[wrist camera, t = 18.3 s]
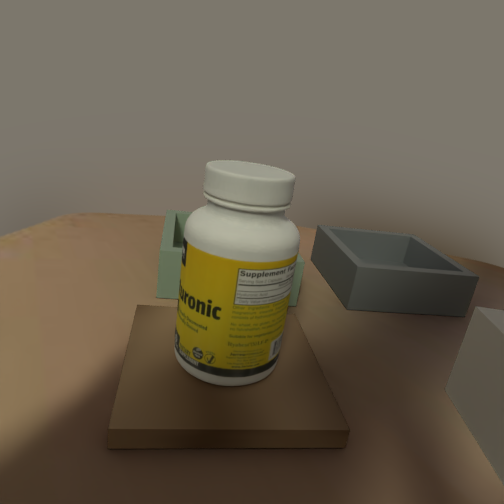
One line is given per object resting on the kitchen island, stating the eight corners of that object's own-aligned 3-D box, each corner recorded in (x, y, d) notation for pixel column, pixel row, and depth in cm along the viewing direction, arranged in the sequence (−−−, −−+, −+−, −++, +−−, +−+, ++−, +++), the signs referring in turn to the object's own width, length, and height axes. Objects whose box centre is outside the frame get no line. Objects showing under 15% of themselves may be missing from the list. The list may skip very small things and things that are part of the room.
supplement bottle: (159, 335, 22) (174, 153, 19) (248, 324, 25) (274, 161, 22) (193, 401, 18) (219, 178, 15) (296, 379, 21) (338, 184, 17)
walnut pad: (292, 327, 27) (294, 313, 27) (344, 447, 18) (350, 429, 18) (136, 319, 26) (137, 304, 25) (107, 448, 16) (107, 428, 16)
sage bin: (270, 255, 40) (276, 220, 38) (295, 306, 30) (304, 262, 29) (164, 246, 38) (166, 209, 37) (156, 297, 29) (159, 250, 27)
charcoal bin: (404, 267, 42) (413, 234, 41) (464, 316, 33) (479, 276, 32) (310, 259, 40) (317, 224, 39) (346, 309, 31) (357, 266, 30)
